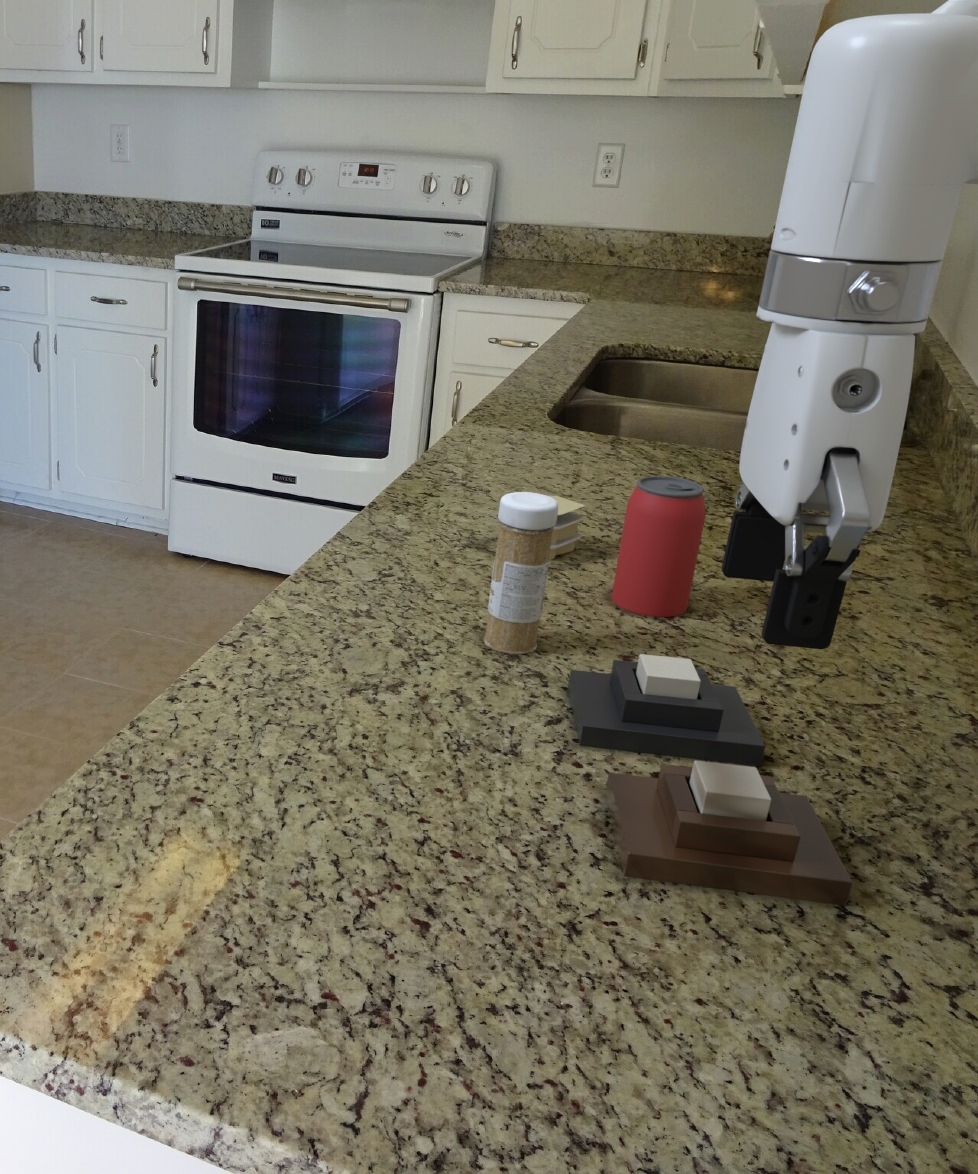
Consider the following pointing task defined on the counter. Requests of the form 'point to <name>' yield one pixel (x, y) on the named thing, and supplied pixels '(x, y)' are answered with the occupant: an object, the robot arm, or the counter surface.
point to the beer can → (659, 546)
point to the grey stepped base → (662, 718)
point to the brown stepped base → (723, 841)
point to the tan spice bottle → (520, 571)
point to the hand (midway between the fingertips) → (770, 608)
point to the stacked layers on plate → (565, 527)
